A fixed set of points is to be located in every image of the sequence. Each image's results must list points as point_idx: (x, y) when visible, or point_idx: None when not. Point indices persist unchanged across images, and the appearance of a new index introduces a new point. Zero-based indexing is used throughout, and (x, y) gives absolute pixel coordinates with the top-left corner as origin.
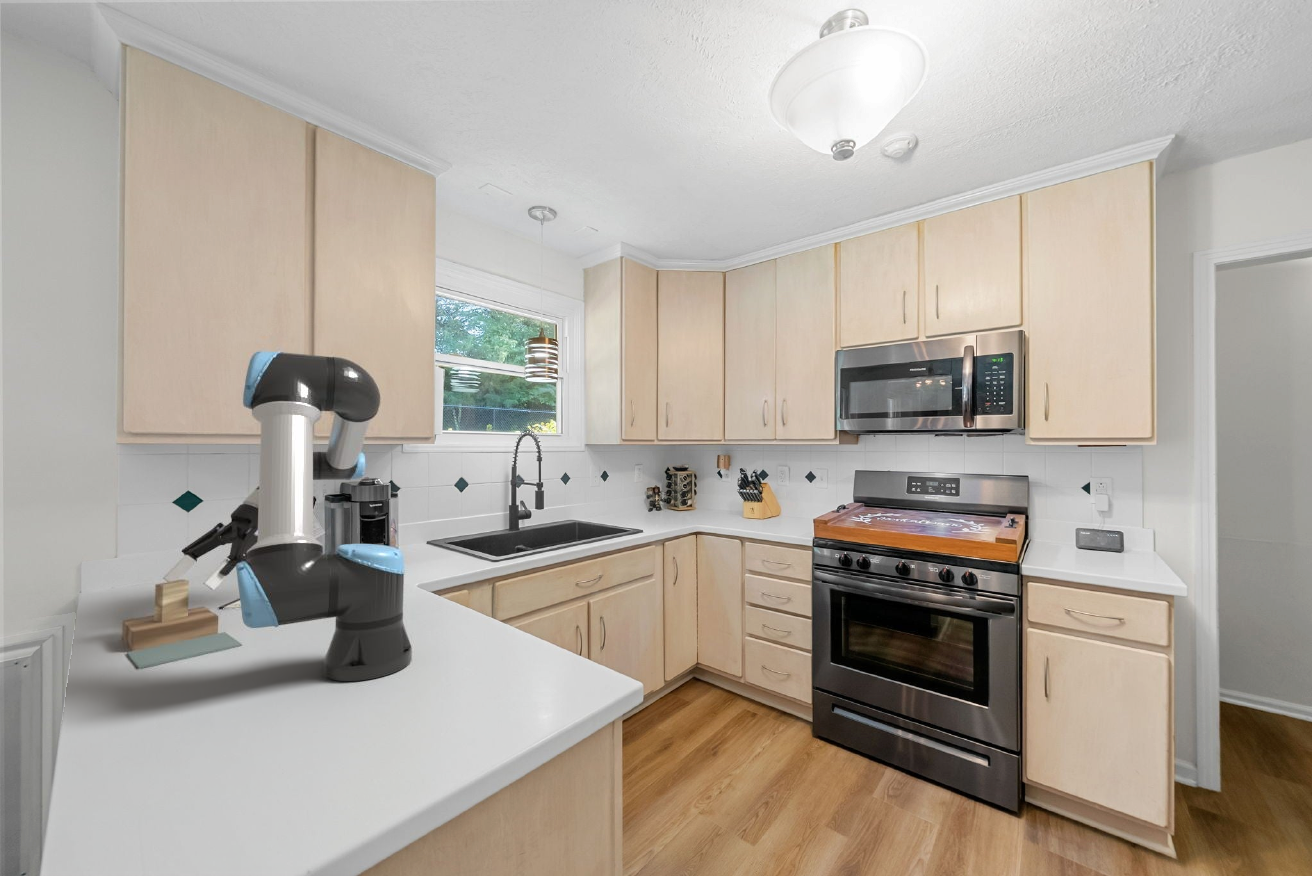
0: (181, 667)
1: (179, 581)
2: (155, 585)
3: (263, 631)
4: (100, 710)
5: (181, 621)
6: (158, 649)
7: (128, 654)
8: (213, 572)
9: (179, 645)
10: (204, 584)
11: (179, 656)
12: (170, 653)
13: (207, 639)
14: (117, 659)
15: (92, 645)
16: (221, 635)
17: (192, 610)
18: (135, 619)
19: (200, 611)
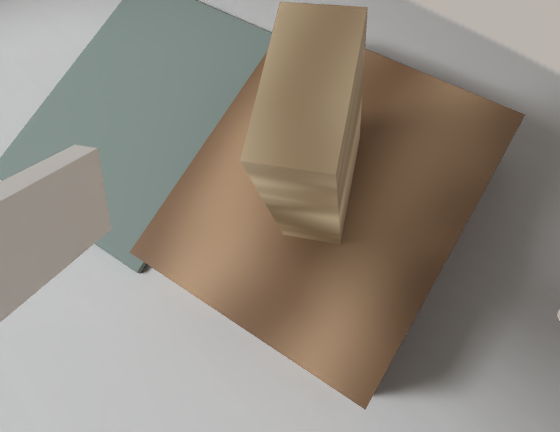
0: (44, 14)
1: (280, 116)
2: (366, 13)
3: (12, 322)
4: None
5: (229, 156)
6: (213, 79)
7: (270, 33)
8: (11, 187)
9: (179, 121)
10: (100, 165)
11: (97, 52)
12: (144, 63)
13: (134, 187)
14: (276, 13)
15: (522, 80)
16: (117, 233)
17: (352, 323)
18: (482, 140)
19: (290, 312)
